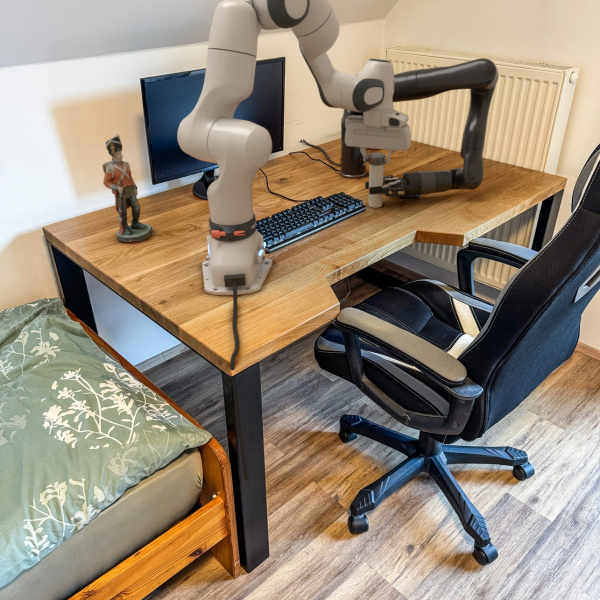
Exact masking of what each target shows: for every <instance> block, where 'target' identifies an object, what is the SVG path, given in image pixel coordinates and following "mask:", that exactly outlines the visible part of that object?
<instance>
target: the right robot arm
mask: <svg viewBox="0 0 600 600" xmlns="http://www.w3.org/2000/svg"><path fill="white" fill-rule="evenodd" d="M499 75H500V74H499V69H498V67H497V65H496V64H495V62H494V61H492V60H491V59H489V58H485V57H481V58H476V59H473V60H469V61H465V62H461V63H457V64H453V65H448V66H436V67H426V68H419V69H418V68H417V69H412V70H406V71H403V72H399V73H394V93H393V97H392V100H393V103H400V102H401V103H402V102H410V101H420V100H425V99H429V98H433V97H435V96H438V95H440V94H444V93H446V92H450V91H456V90H458V91H459V90H469V91H470V92H469V98H470V99H469V108H468V113H467V116H466V121H465V124H464V129H463V133H462V137H461V145H460V158H462V159H463V167H458V168H451V169H439V170H437V169H436V170H419V171H409V172H408V171H407V172H404V173H403V174H402V176H401V177H394V174H390V175H383V186H382V188H381V186H378V187H370V188H369V181H365V183H364V187H365V189H366V190H368V194H369V193H370V194H371V195H372V194H383V196H384V197H415V196H425V195H429V194H438V193H446V192H448V191H454V190H466V191H467V190H468V191H474V190H477V189H478V188H479V187H480V186H481V185H482V182H483V179H484V172H485V170H484V157H483V155H484V151H485V150H484V149H485V143H486V134H487V128H488V118H489V113H490V108H491V103H492V99H493V96H494V92H495V89H496V86H497V83H498V81H499ZM350 115H354V116H363V112H356V111H350V110H346V109H343V113H342V117H341V120H340V158H339V159H340V160H339V163H337V162H334V161H333V160H332V159H331V158H329V157H328V153H327V152H326V150H324V148H322V147H320V146H318V145H315V144H312V143H309V142H308V141H306V140H305V139H304V138H302V139H303V141H302V139H301V140H300V141H299V142H300V143H302V142H303V143H304V144H305V145H307V146H309V147H311V148H314V149H317V150H319V151H321V152H322V154H324V156H325V159H326V160H327V162H329V163H330V164H332V165H334V166H337V167H340V176H342V177H345V178H350V179H356V178H362V177H365V176H366V175H367V164H368V162H364V156H363V155H362V153H361V151H360V147H351V146H347V145H346V144H345V133H346V127H345V120H346V118H347V117H349V116H350ZM349 119H350V118H349ZM367 150H368V149H366V150H365V151H366V153H367V154H368V152H367Z"/></svg>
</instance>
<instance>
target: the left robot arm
mask: <svg viewBox="0 0 600 600" xmlns="http://www.w3.org/2000/svg"><path fill="white" fill-rule="evenodd" d="M280 29H285V30H287V29H290V30H291V32H292V33H293V35H294V36H295V38H296V39H297V41H298V47H299V51H300V53H301V56H302V57H303V60H304V61H305V64H306V65H307V67H308V69H309V71H310V73H311V75H312V77H313V79H314V81H315V83H316V86H317V89H318V93H319V97H320V100H321V102H322V104H324V105H325V106H326V107H328V108H333V109H342V110H344V109H346V110H350V111H356V112H363V116H354V115H350V116H349V117H347V118H346V120H345V127H346V133H345V144H346V145H347V146H351V147H360V151H361V153H362V155H363V156H364V162H367V163H368V155H369V154H368V152H367V153H366V151H365V150H366V149H367V148H374V149H378V150H385V151H386V150H387V154H388V155H387V156H386V155H385V156H386V157H385V158H384V164H386V165H389V164H390V162H391V157H392V155H393V154H394V152H395V151H397V152H398V151H399V152H406V151H408V150H409V149H410V148H411V146H412V132H411V131H412V130H411V126H410V124H408V122H409V119H410V117H409V115H408V114H406V113H404V112H401V111H399V110H396V109H394V102H393V100H392V97H393V93H394V75H395V67H394V65H393V62H391V61H390V60H388V59H387V60H386V59H380V58H369V59H367V60H366V63H365V66H363V68H362V69H361V70H360V71H358V72H357V73H355V74H352V73H346V72H342V71H340V70H338V69H336V68H335V67H334V65H333V64H332V61H331V59H330V57H329V54H328V53H327V52H328V51H329V50H331V49H332V47H334V45H335V43H336V42H337V41H338V38H339V34H340V29H341V26H340V21H339V19H338V17H337V14H336V13H335V11H334V9H333V7H332V6H331V4H330V3H329V0H222V1H220V2H219V3H218V4H217V5H216V8H215V10H214V13H213V17H212V21H211V24H210V31H209V36H208V44H207V53H206V54H207V55H206V63H205V64H206V65H205V73H204V79H203V80H204V81H203V86H202V90H201V93H200V95H199V98H198V99H197V102H196V104H195V106H194V108H193V109H192V111H191V112H190V113H189V114H187V116H186V117H184V118H183V119H182V120H181V121H180V123H179V126H178V129H177V134H176V135H177V136H176V137H177V143H178V145H179V147H180V149H181V151H182V152H184V153H185V154H186V155H189V156H190V157H192V158H195V159H196V160H198V161H201V162H207V163H212V164H216V165H217V166H218V178H217V179H215V180H213V181H212V182H211V183H210V185H209V186H208V188H207V190H206V195H207V203H208V212H209V218H208V229H209V234H208V235H207V236H206V243H207V249H208V255H206V256H205V260H204V261H203V262H202V263H201V268H202V278H203V290H204V292H205V293H207V294H210V295H214V296H232V300H233V301H232V303H233V305H232V306H233V307H232V324H231V325H232V334H233V339H234V349H233V351H232V354H231V356H230V361H229V363H230V365H229V366H230V367H229V370H230V371H235V368H236V359H237V356H238V353H239V350H240V338H239V332H238V324H237V323H238V322H237V320H238V296H239V295H240V296H241V295H249V294H253V293H256V292H259V291H260V290H261V288H262V287H263V286H264V283H265V280H266V278H267V276H268V274H269V273H270V271H271V268H272V266H273V265H274V264H273V260H272V259H271V258H268V257H266V249H265V248H266V246H267V243H266V241H264V235H263V234H262V233H260V232H259V231H258V230H257V218H256V214H255V212H254V201H253V185H254V180H255V178H256V175H257V174H258V171H260V169H261V168H263V167H264V166H265V165H266V164H267V163H268V161H269V160H270V157H271V155H272V153H273V152H272V151H273V142H272V141H273V140H272V137H271V134H270V132H269V130H268V129H266V128H265V127H264V126H261V125H259V124H257V123H255V122H252V121H249V120H245V119H238V118H234V115H235V113H236V110H237V108H238V106H239V105H240V103H241V102H243V101H244V100H246V99H248V98H249V97H250V96H251V94H252V93H253V91H254V85H255V75H256V66H257V57H258V43H259V42H258V41H259V40H258V39H259V36H260V34H261V31H262V30H265V31H273V30H280ZM349 118H350V119H349ZM367 150H368V149H367ZM230 380H231V388H232V395H233V404H234V414H235V421H236V430H237V437H238V444H239V450H240V458H241V465H242V473H243V480H244V481H248V480H249V475H248V468H247V466H248V465H247V459H246V458H247V457H246V451H245V445H244V437H243V436H244V435H243V427H242V420H241V413H240V411H241V410H240V403H239V394H238V385H237V384H238V383H237V377H236V375H230Z"/></svg>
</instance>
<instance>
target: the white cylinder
mask: <svg viewBox="0 0 600 600" xmlns="http://www.w3.org/2000/svg"><path fill="white" fill-rule="evenodd" d="M384 164H385V163H384ZM384 164H381V165H372V164H369V163H368V166H369V171H368V182H369V188H370V187H378V186H381V188H382V186H383V177H384V169H385V167H384V166H385V165H384ZM383 196H384V195H383V194H372V195H371V194H370V193H369V192H368V207H370V208H374V209H375V208H381V207H383Z"/></svg>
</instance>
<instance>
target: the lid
mask: <svg viewBox="0 0 600 600" xmlns="http://www.w3.org/2000/svg"><path fill="white" fill-rule="evenodd" d="M367 155H368V162H367V164H368V165H369V164H372V165H381V164H385V163H384V158H385V157H386V153H384V152H370V153H369V154H367Z"/></svg>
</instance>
